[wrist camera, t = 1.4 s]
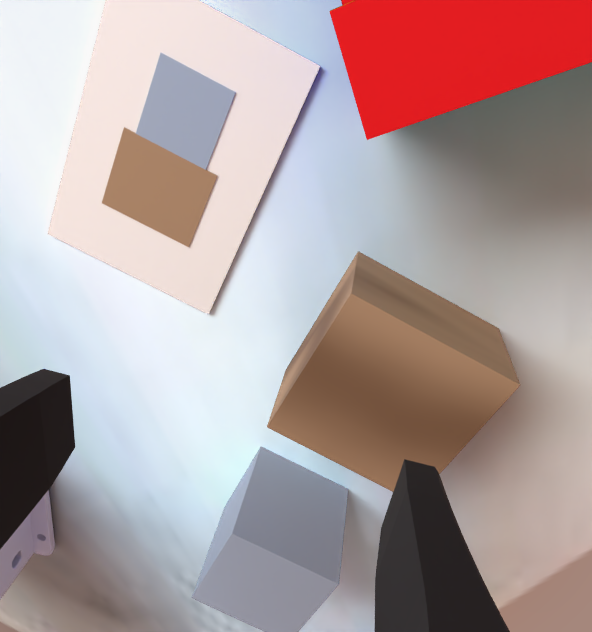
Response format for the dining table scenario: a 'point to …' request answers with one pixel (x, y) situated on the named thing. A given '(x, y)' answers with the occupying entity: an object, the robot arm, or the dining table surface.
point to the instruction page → (176, 142)
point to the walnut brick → (391, 376)
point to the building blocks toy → (453, 52)
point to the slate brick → (275, 546)
